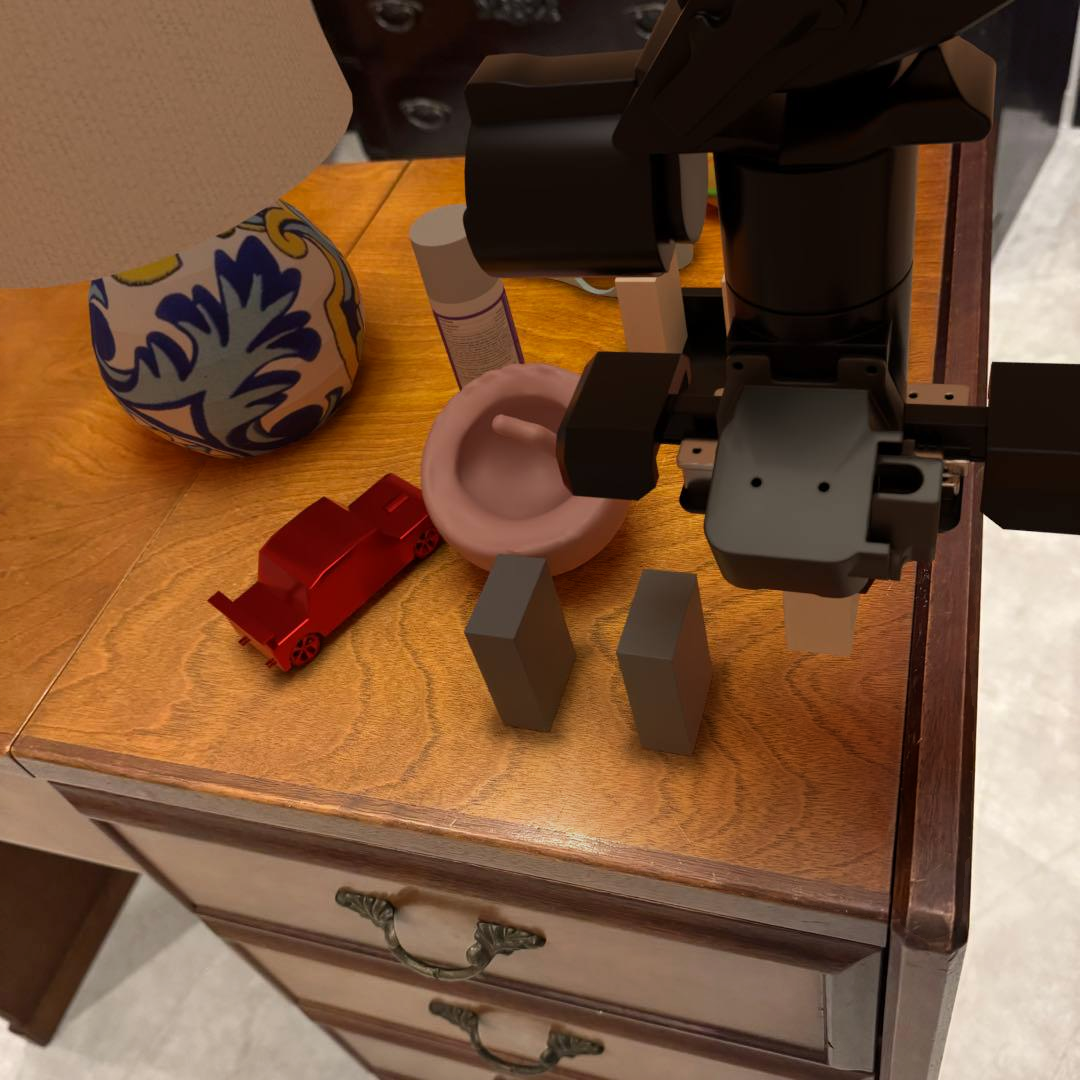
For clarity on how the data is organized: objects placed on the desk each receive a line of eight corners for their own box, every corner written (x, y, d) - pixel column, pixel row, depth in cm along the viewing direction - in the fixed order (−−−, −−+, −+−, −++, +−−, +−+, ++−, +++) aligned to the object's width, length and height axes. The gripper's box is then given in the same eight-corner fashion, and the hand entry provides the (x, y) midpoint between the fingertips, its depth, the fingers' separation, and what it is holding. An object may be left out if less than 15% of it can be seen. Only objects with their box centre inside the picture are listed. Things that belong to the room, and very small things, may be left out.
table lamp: (103, 354, 90) (-246, -198, 61) (409, 253, 90) (204, -340, 62) (85, 578, 71) (-433, -71, 42) (472, 448, 71) (219, -278, 43)
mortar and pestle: (430, 619, 62) (366, 478, 54) (479, 474, 69) (429, 332, 61) (634, 625, 58) (598, 475, 50) (661, 472, 66) (634, 321, 58)
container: (483, 394, 75) (422, 204, 64) (546, 395, 73) (494, 200, 63) (462, 440, 72) (395, 248, 61) (527, 442, 71) (469, 245, 60)
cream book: (864, 565, 47) (866, 429, 41) (850, 658, 44) (850, 524, 38) (803, 560, 47) (797, 426, 42) (786, 650, 44) (776, 518, 39)
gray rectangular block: (713, 673, 55) (697, 573, 49) (692, 756, 52) (672, 660, 46) (664, 667, 56) (643, 567, 50) (641, 748, 53) (615, 652, 47)
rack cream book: (688, 336, 73) (673, 234, 67) (671, 384, 70) (655, 281, 64) (651, 335, 74) (634, 235, 68) (633, 382, 71) (613, 281, 65)
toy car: (288, 688, 61) (253, 635, 57) (234, 644, 64) (198, 591, 60) (460, 533, 66) (438, 477, 63) (403, 500, 69) (379, 444, 66)
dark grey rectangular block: (577, 655, 58) (546, 557, 52) (549, 732, 55) (513, 638, 49) (532, 649, 59) (498, 553, 53) (503, 725, 56) (462, 632, 50)
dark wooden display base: (899, 339, 70) (901, 287, 67) (886, 421, 65) (888, 369, 62) (640, 333, 76) (632, 286, 73) (611, 408, 71) (600, 360, 68)
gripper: (456, 419, 32) (559, 711, 43) (1174, 457, 25) (1074, 791, 36) (564, 212, 38) (628, 511, 50) (1151, 199, 32) (1073, 547, 43)
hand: (825, 582), depth 44 cm, fingers closed on cream book, 2 cm apart
